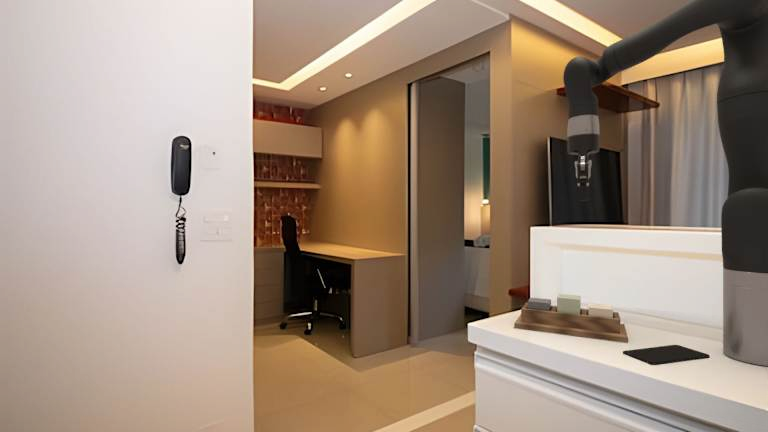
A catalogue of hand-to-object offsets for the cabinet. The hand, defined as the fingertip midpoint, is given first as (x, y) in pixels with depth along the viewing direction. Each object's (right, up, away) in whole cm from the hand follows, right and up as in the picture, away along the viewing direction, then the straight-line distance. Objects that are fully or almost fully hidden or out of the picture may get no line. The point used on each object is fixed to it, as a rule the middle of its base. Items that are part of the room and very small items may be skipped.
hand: (583, 200), depth 102 cm
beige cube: (-1, -31, -10) cm, 32 cm away
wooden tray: (-7, -32, -6) cm, 33 cm away
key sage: (-7, -29, -6) cm, 31 cm away
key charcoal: (-13, -31, -3) cm, 33 cm away
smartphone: (+4, -33, -25) cm, 41 cm away
